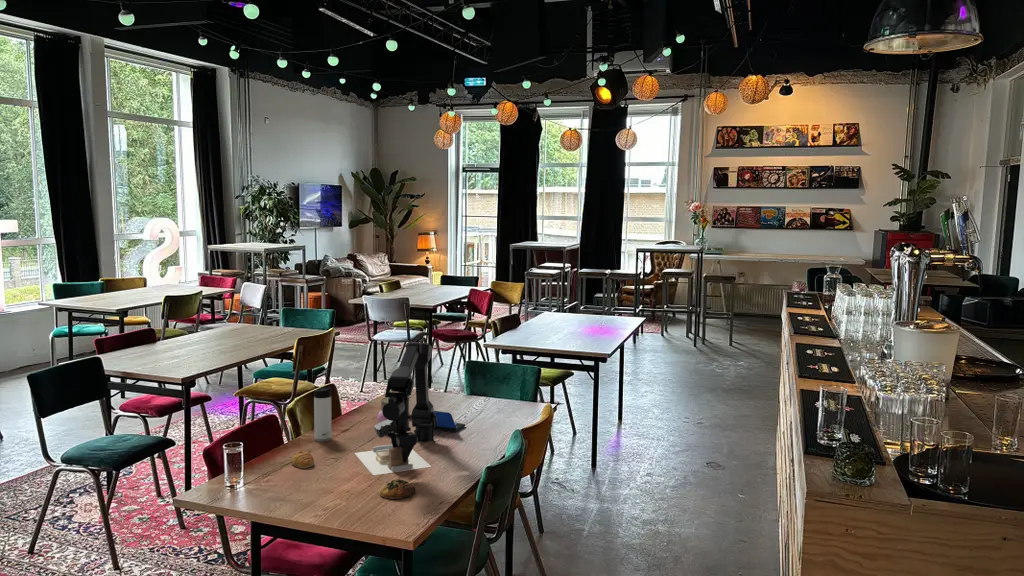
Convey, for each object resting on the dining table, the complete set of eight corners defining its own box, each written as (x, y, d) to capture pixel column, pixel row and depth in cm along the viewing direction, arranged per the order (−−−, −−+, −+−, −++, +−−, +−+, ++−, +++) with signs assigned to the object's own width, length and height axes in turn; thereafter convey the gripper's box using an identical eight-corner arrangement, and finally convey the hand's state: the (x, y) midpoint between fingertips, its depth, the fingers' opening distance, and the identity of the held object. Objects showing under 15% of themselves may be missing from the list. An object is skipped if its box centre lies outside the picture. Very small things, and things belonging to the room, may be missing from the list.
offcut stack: (403, 455, 247) (403, 448, 247) (408, 459, 243) (408, 453, 243) (375, 459, 243) (375, 452, 242) (379, 463, 238) (379, 457, 238)
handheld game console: (466, 427, 287) (466, 405, 286) (450, 436, 274) (450, 413, 274) (433, 422, 293) (433, 400, 292) (416, 431, 281) (416, 408, 280)
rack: (408, 448, 258) (408, 441, 258) (431, 469, 237) (431, 462, 236) (354, 455, 249) (354, 448, 249) (373, 478, 228) (373, 470, 227)
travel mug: (327, 442, 263) (327, 390, 261) (311, 441, 264) (310, 389, 262) (335, 437, 269) (334, 386, 267) (319, 436, 270) (318, 385, 268)
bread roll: (418, 498, 212) (416, 482, 212) (381, 506, 209) (379, 490, 209) (413, 486, 223) (411, 470, 222) (378, 493, 220) (376, 478, 219)
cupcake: (402, 430, 280) (402, 405, 279) (397, 437, 271) (397, 411, 270) (381, 429, 281) (381, 404, 280) (374, 435, 272) (374, 410, 271)
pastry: (319, 466, 238) (318, 456, 237) (299, 471, 234) (299, 460, 233) (308, 459, 245) (307, 448, 245) (289, 463, 241) (288, 452, 241)
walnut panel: (406, 465, 237) (406, 445, 236) (408, 467, 235) (408, 447, 234) (389, 468, 234) (389, 447, 233) (390, 470, 232) (390, 449, 232)
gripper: (368, 407, 238) (368, 452, 239) (384, 422, 221) (384, 470, 222) (400, 404, 243) (400, 448, 244) (418, 418, 226) (418, 465, 228)
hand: (400, 457), depth 234 cm, fingers open, 9 cm apart
